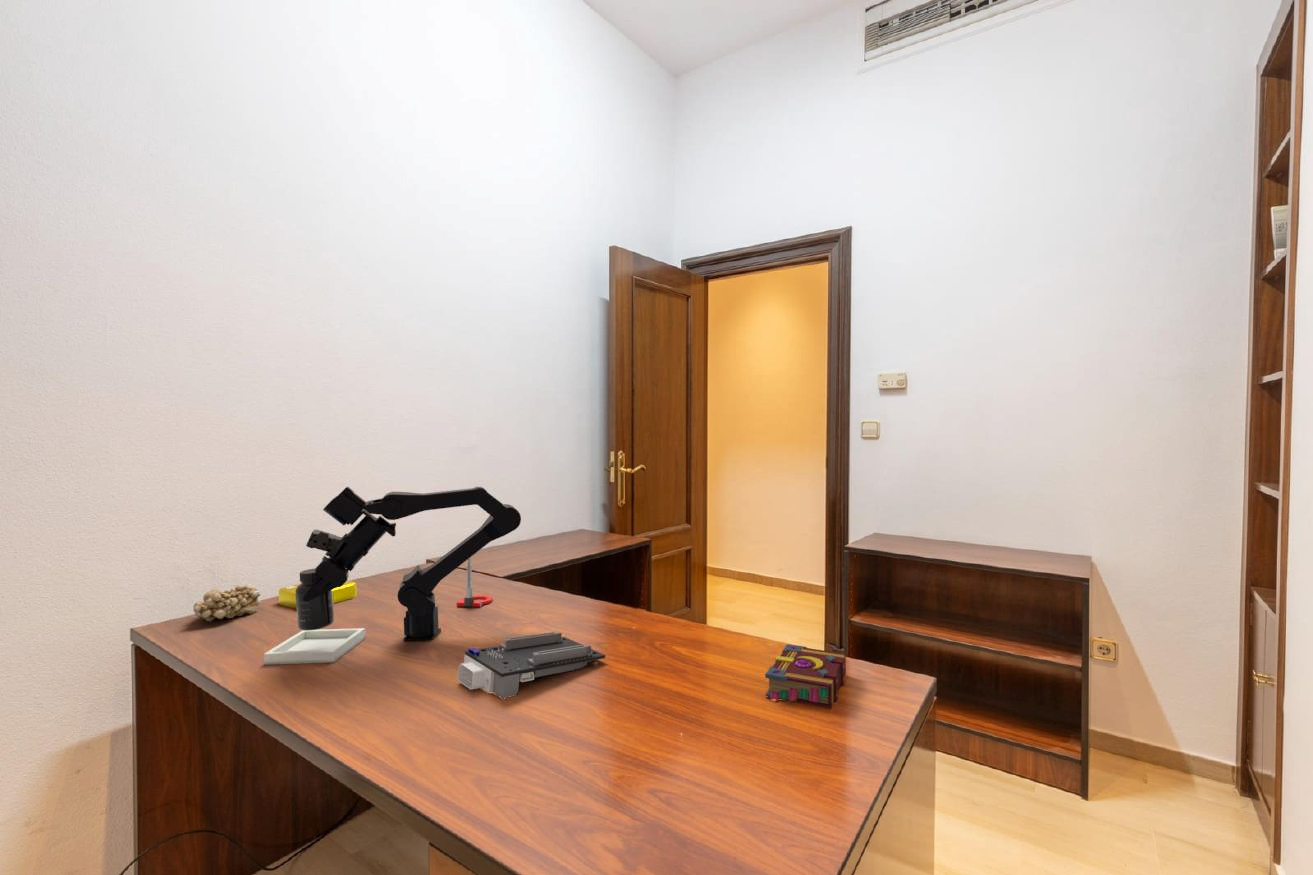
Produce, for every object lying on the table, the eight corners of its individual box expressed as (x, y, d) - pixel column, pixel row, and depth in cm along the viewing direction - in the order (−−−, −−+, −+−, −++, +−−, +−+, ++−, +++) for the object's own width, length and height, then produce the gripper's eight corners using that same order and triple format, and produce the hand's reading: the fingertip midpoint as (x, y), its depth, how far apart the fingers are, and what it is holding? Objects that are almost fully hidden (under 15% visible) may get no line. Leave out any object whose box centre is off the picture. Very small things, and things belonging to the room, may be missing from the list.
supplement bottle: (318, 619, 133) (315, 565, 133) (341, 621, 131) (338, 567, 130) (290, 629, 127) (286, 573, 126) (314, 632, 124) (310, 575, 124)
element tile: (359, 597, 171) (359, 580, 171) (307, 612, 158) (306, 594, 158) (328, 591, 178) (328, 575, 178) (275, 605, 165) (275, 587, 165)
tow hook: (469, 599, 167) (452, 607, 158) (469, 552, 167) (452, 558, 158) (497, 599, 166) (482, 608, 157) (497, 553, 166) (482, 559, 157)
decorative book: (847, 676, 111) (847, 649, 111) (831, 715, 97) (830, 685, 97) (787, 666, 116) (786, 641, 116) (763, 702, 102) (762, 673, 102)
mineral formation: (267, 609, 160) (225, 624, 145) (219, 618, 160) (172, 634, 145) (262, 579, 160) (220, 591, 145) (214, 588, 161) (167, 601, 146)
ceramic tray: (365, 637, 136) (365, 628, 136) (333, 662, 123) (333, 651, 122) (303, 639, 136) (303, 630, 136) (264, 664, 122) (264, 653, 122)
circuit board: (603, 681, 119) (562, 660, 130) (606, 646, 119) (565, 628, 130) (487, 705, 102) (451, 679, 113) (491, 665, 103) (455, 643, 114)
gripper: (335, 510, 138) (283, 564, 134) (324, 522, 121) (264, 584, 117) (375, 540, 141) (325, 593, 138) (370, 556, 124) (312, 617, 120)
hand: (307, 596), depth 128 cm, fingers closed on supplement bottle, 7 cm apart
